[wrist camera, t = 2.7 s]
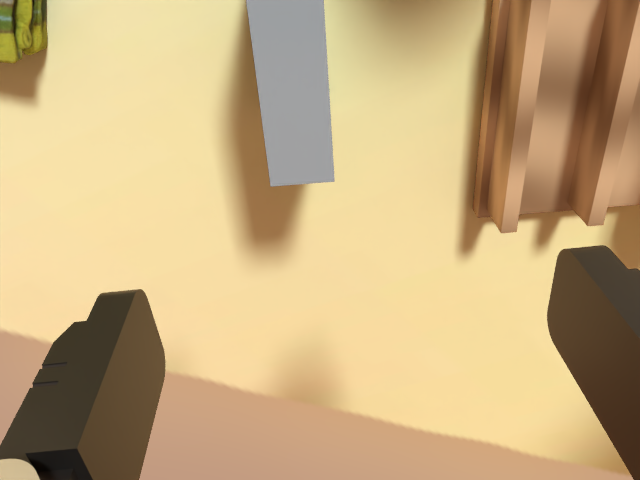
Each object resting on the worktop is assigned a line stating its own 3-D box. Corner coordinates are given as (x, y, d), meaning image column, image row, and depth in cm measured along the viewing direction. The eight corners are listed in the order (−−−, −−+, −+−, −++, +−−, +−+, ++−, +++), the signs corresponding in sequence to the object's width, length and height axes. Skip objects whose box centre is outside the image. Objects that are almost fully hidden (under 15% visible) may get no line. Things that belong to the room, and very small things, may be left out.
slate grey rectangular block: (255, -63, 24) (240, -43, 17) (312, -68, 24) (320, -49, 17) (275, 114, 28) (270, 186, 21) (324, 110, 28) (334, 181, 21)
